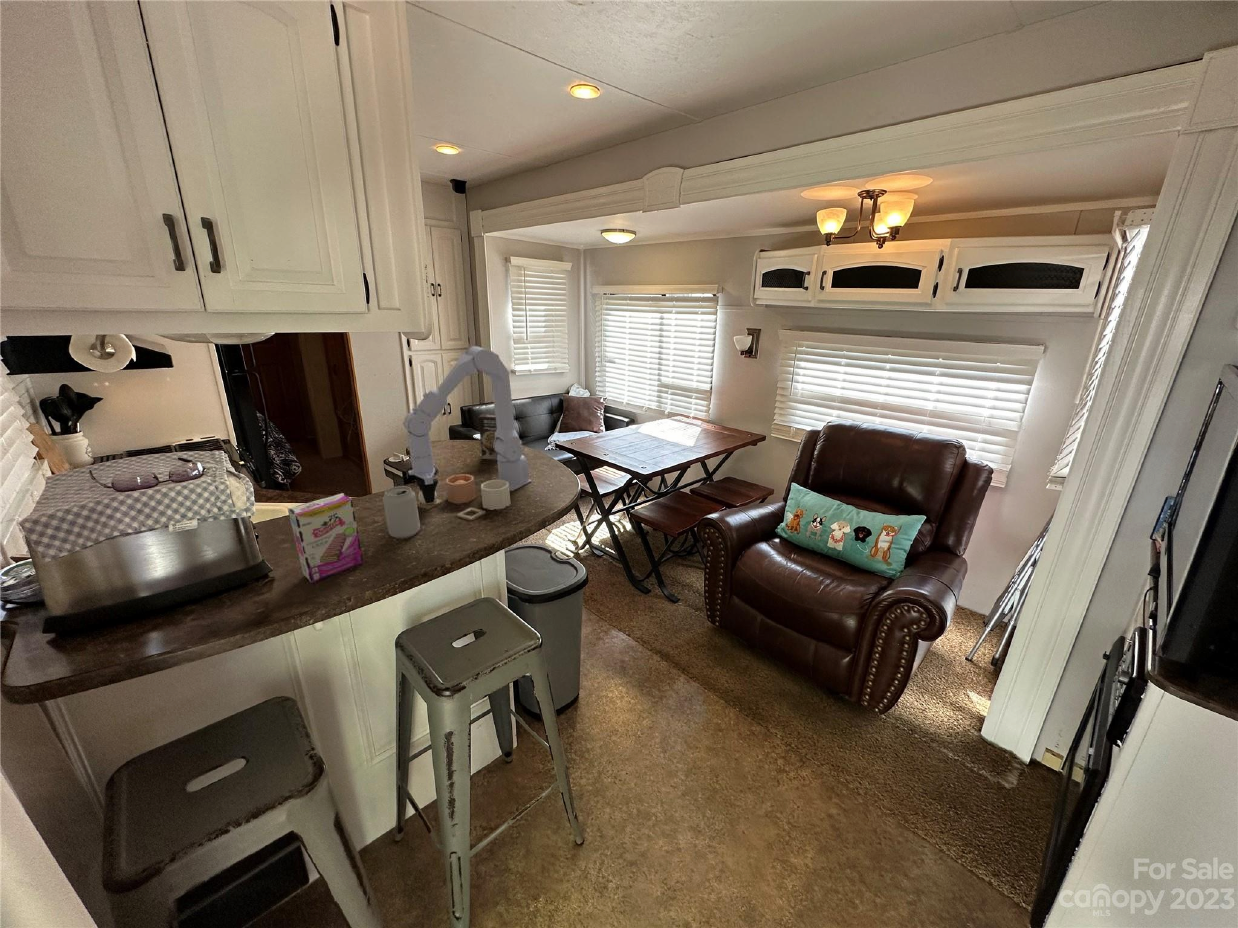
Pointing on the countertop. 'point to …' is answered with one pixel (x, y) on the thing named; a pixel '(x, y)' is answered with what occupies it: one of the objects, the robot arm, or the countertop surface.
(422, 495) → the cream ball
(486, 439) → the coffee box
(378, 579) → the countertop surface
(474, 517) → the stand
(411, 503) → the can
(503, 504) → the white cup
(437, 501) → the stand
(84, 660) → the countertop surface
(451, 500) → the terracotta round cup
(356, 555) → the candy bar box
